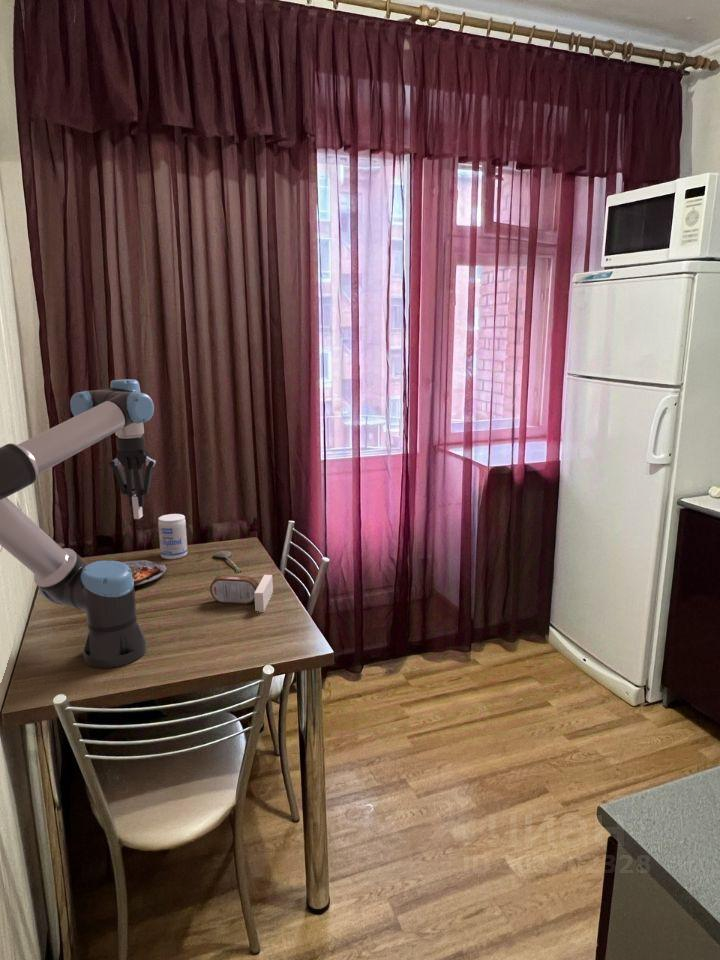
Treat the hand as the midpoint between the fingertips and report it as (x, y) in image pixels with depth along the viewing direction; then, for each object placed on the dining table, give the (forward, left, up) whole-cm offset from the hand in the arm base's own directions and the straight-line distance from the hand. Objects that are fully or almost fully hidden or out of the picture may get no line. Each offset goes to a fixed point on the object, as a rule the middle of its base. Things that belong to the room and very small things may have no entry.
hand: (138, 517), depth 181 cm
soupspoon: (+39, -14, -29) cm, 51 cm away
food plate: (+24, +16, -29) cm, 41 cm away
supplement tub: (+46, +8, -29) cm, 55 cm away
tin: (+6, -25, -29) cm, 38 cm away
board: (+6, -34, -28) cm, 44 cm away
